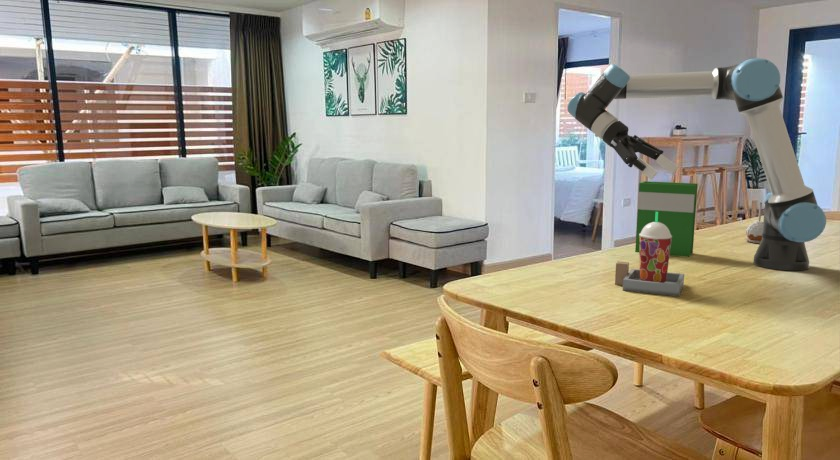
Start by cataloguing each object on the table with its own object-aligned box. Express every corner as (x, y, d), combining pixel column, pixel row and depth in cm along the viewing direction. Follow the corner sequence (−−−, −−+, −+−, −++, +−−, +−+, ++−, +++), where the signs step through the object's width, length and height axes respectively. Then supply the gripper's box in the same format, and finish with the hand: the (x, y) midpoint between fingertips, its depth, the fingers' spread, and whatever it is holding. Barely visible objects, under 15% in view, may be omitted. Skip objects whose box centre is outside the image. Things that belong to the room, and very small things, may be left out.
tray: (683, 284, 178) (685, 263, 177) (678, 296, 165) (680, 274, 164) (620, 277, 185) (621, 257, 184) (611, 289, 173) (612, 267, 172)
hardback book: (692, 253, 220) (697, 183, 216) (690, 257, 213) (695, 185, 209) (639, 248, 228) (643, 181, 224) (635, 252, 222) (639, 183, 218)
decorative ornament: (765, 240, 242) (769, 201, 240) (771, 244, 235) (775, 204, 232) (743, 240, 244) (746, 201, 242) (748, 243, 237) (752, 203, 234)
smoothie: (668, 282, 177) (673, 210, 174) (669, 289, 169) (674, 214, 166) (636, 279, 180) (640, 209, 176) (636, 286, 172) (640, 213, 169)
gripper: (623, 137, 203) (676, 179, 193) (582, 143, 186) (637, 188, 176) (637, 118, 199) (691, 159, 189) (595, 121, 182) (653, 167, 172)
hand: (665, 173), depth 183 cm, fingers open, 13 cm apart
